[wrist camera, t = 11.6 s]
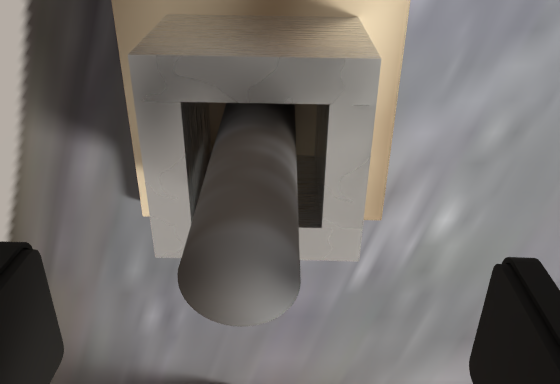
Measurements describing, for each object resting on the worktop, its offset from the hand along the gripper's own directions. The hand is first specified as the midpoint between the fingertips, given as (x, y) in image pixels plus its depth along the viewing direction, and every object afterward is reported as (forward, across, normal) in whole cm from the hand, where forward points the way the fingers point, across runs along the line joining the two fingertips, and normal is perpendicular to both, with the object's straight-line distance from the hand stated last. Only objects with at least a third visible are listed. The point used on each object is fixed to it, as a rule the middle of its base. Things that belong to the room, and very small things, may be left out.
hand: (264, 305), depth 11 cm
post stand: (+11, +1, -1) cm, 11 cm away
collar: (+10, +1, -1) cm, 10 cm away
